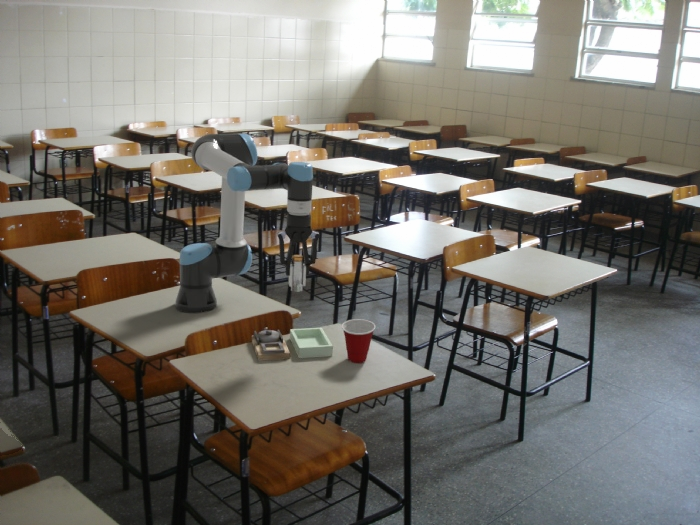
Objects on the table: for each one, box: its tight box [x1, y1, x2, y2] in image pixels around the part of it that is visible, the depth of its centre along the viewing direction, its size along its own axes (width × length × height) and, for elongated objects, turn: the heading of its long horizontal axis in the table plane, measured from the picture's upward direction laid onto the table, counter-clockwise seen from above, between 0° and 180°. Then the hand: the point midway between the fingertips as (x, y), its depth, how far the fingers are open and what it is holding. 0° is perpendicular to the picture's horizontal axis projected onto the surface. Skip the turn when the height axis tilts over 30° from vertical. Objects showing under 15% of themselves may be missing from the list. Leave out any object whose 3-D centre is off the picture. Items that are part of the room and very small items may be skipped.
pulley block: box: [251, 329, 291, 362], centre depth 231 cm, size 16×10×5 cm, turn 15°
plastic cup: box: [341, 318, 376, 364], centre depth 226 cm, size 11×11×12 cm
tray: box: [289, 327, 334, 359], centre depth 235 cm, size 16×11×4 cm
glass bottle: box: [290, 254, 304, 293], centre depth 224 cm, size 4×4×11 cm
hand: (296, 284), depth 225 cm, fingers closed on glass bottle, 3 cm apart
